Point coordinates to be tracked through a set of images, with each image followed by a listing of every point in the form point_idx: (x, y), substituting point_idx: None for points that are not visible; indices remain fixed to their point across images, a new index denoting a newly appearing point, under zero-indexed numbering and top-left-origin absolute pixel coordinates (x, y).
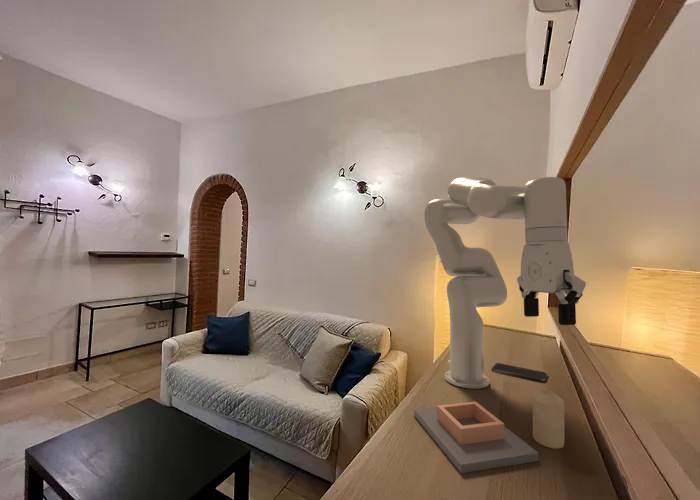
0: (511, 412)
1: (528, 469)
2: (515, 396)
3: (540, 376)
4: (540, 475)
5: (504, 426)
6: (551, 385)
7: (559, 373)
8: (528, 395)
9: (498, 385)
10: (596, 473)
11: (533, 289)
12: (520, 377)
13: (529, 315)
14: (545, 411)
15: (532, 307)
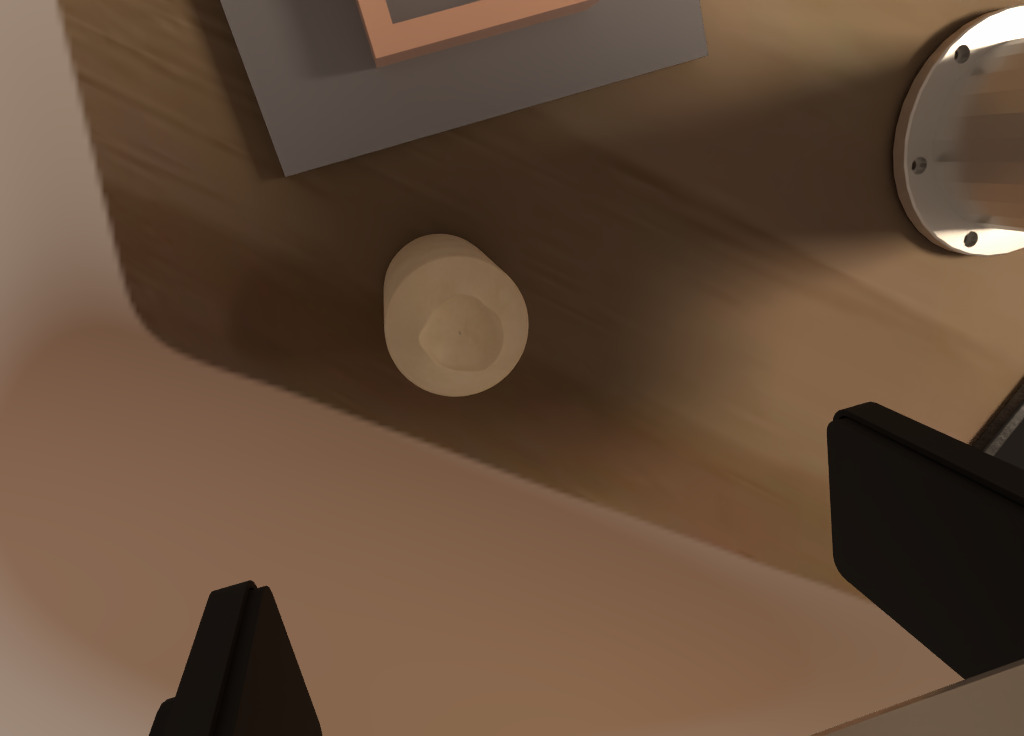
0: (660, 237)
1: (226, 105)
2: (805, 324)
3: None
4: (195, 136)
5: (482, 117)
6: None
7: None
8: (811, 388)
9: (920, 290)
10: (248, 356)
11: (882, 730)
12: (985, 433)
13: (835, 456)
14: (397, 278)
15: (918, 553)
